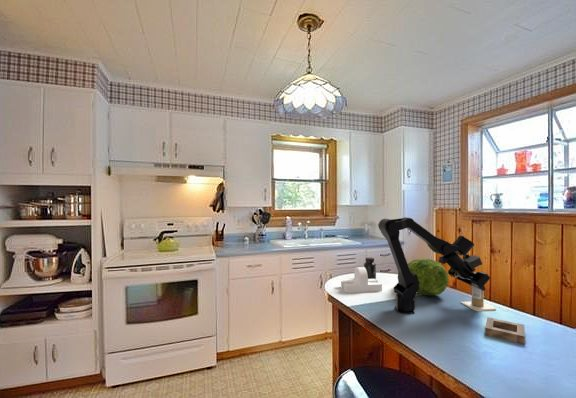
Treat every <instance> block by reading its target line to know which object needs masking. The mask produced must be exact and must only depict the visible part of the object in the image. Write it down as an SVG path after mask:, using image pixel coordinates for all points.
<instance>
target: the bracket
mask: <svg viewBox="0 0 576 398" xmlns="http://www.w3.org/2000/svg"><path fill="white" fill-rule="evenodd" d="M353 275H354V279H341V280H340V288H341V287H342V288H341V289H343V292H345V293H351V294H352V292H354V293H373V292H374V291H381V292H383V283H381V282H379V281H378V279H377V278H376V279H368V275H367V271H366V269H365V267H364V266H359V267H358V266H356V267H355V268H354V274H353Z"/></svg>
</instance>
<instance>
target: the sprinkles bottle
mask: <svg viewBox="0 0 576 398" xmlns="http://www.w3.org/2000/svg"><path fill="white" fill-rule="evenodd" d="M484 298H485V296H484V291H483V290H481V289H478V288H476V287H474V286H471V301H472V302H471V304H472V305H474V306H479V307H481V306H484V303H485V302H484V301H485V300H484Z"/></svg>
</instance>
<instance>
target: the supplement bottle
mask: <svg viewBox="0 0 576 398" xmlns="http://www.w3.org/2000/svg"><path fill="white" fill-rule="evenodd" d="M363 267H365V269H366V271H367V275H368V279H376V280H377V264H376V262H375V258H374V257H365V262H364V263H363Z"/></svg>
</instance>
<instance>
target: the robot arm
mask: <svg viewBox="0 0 576 398" xmlns="http://www.w3.org/2000/svg"><path fill="white" fill-rule="evenodd" d="M377 224H378V225H377V226H378V229H379V231H380V233H381V235H382V236H383V237H384V238H385V240H386V241H387V243H388V247H389V250H390V253H391V255H392V258H393V261H394V264H395V266H396V269H397V281H398V282H397V283H396V284H395V285H394V286H393V288H392V289H393V292H394V293H395V305H394V308H395V309H396V311H397V313H399V314H400V313H401V314H402V313H403V314H416V313H415V309H416V306H415V304H416V303H415V302H416V301H415V299H416V296H417V294H418V293H417V292H418V290H419V288H420V286H419V284H420V282H419V281H418V276H417V274H415V273H413V272H411V271H410V270H409V267H408V262H407V259H406V256H405V254H404V250H403V246H402V244H401V242H400V231H402V230H405V229H407V230H408V231H410V232H412V234H414V235H415V236H417V237H418V238H419V239H421V240H422V241H423V242H425V244H427V247H428V248H429V249H430V250H431V251H432V252H433V253H436V254H438V255H442V256H439V258H438V263H440V264H441V265H446V264H447V265H448V266H449V269H447V274H448V276H449V277H452V278H456V279H457V280H458V281H460V282H462V283H464V284H466V285H467V284H468V285H469V286H470V287H472V286H474V287H476V288H478V289H481V290H483V291H486V287H485V285H486V284H487V283H488V282H489V281H490V279H491V276H490V275H489V273H485V272H482V271H477V272H475V271H476V268H477V267H479V266H481V265H483V262H482V259H481V257H480V256H478V255H475V254H473V255H472V254H470V255H469V254H468V253H469V252H470V251H471V250H472V249H473V248H474V246H475V243H474V242H473V241H472V240H470V239H468V238H466V237H465V236H464V235H459V236H458V237H457V239H456V240H454V242H453V243H450V242H448V241H446V240H445V239H442V238H440V237H438V236H436V235H434V234H433V233H431V232H430V231H429V230H427V229H425V227H423V226H421V225H420V224H419V223H417V222H416V221H415V220H414V219H413V218H411V217H407V216H406V217H405V216H404V217H401V218H393V219H389V218H383V219H381V220H380V221H379V222H378V223H377ZM460 256H462V258H461V257H460Z"/></svg>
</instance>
